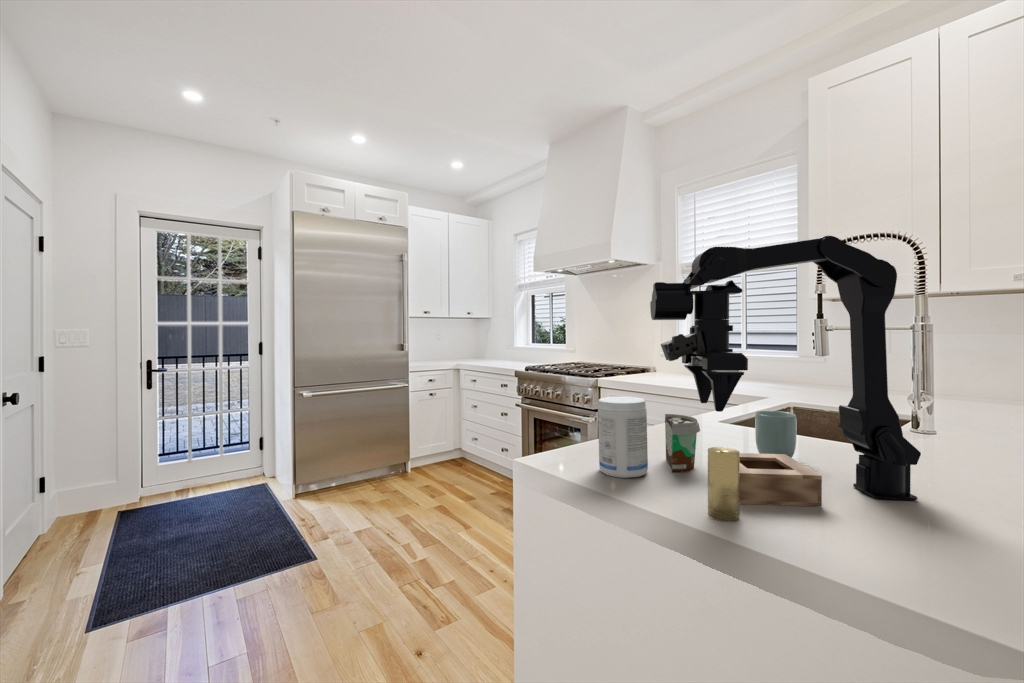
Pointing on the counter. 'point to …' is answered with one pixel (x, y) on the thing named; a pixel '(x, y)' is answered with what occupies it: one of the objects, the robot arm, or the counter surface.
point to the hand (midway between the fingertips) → (711, 407)
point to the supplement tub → (622, 436)
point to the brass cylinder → (724, 483)
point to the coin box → (778, 481)
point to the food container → (680, 442)
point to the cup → (775, 432)
